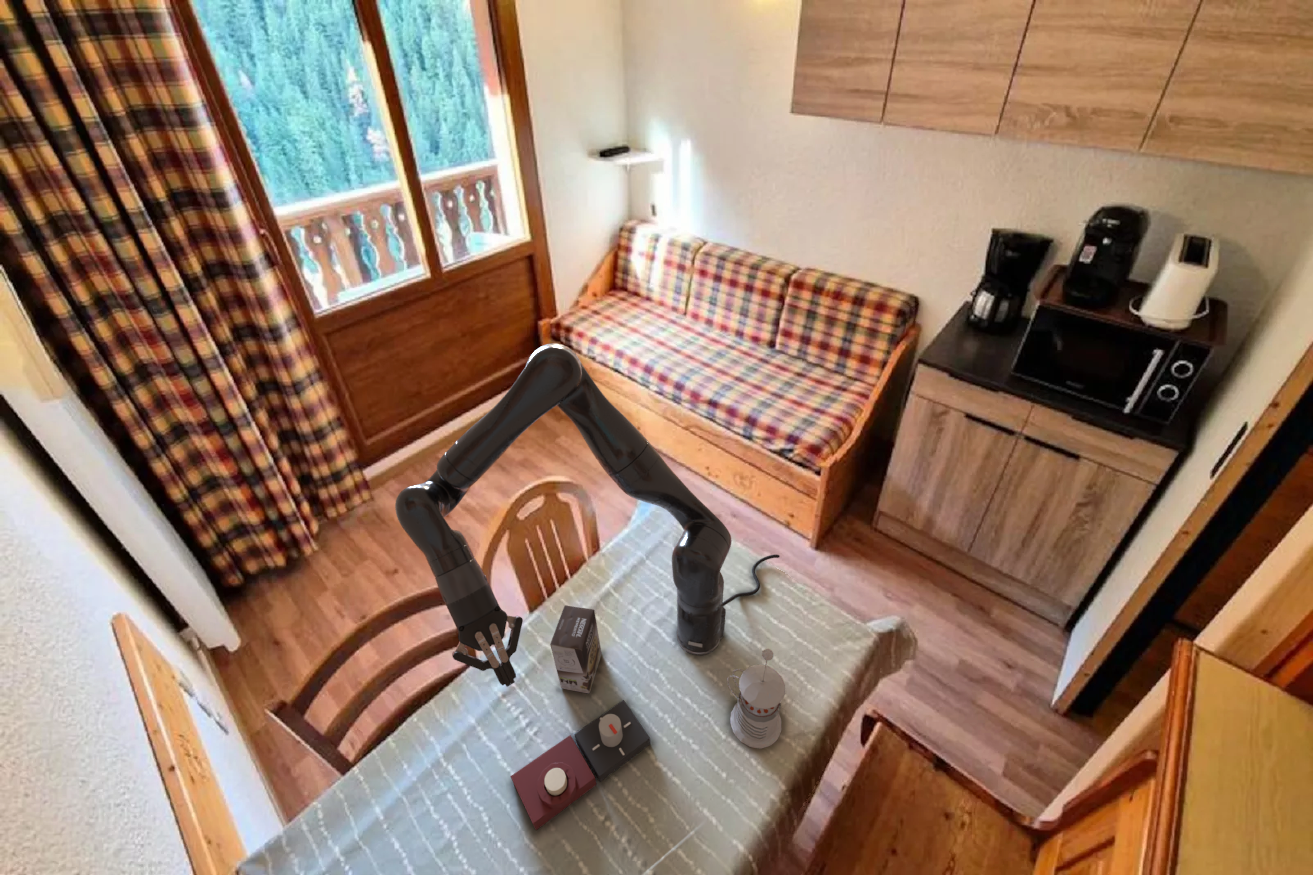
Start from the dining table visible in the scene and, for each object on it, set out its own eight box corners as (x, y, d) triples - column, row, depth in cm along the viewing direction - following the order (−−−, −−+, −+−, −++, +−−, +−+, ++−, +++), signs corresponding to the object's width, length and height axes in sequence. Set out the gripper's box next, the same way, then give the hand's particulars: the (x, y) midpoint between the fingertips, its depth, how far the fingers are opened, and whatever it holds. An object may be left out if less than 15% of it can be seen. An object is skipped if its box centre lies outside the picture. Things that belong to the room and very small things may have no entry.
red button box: (572, 742, 108) (569, 730, 105) (599, 788, 102) (596, 777, 98) (513, 783, 103) (508, 772, 99) (537, 834, 96) (533, 824, 93)
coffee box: (590, 694, 115) (581, 651, 105) (560, 688, 116) (548, 645, 106) (603, 653, 122) (595, 608, 111) (574, 648, 123) (564, 603, 113)
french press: (762, 760, 104) (776, 693, 89) (712, 717, 111) (717, 647, 95) (791, 719, 110) (810, 649, 94) (742, 680, 116) (751, 608, 100)
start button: (561, 768, 100) (559, 763, 99) (571, 786, 98) (569, 781, 96) (542, 781, 99) (540, 776, 97) (552, 800, 96) (550, 795, 95)
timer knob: (596, 734, 106) (594, 722, 103) (614, 720, 108) (612, 708, 105) (609, 752, 104) (606, 740, 101) (626, 737, 106) (625, 726, 103)
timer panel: (624, 705, 113) (623, 699, 111) (650, 744, 107) (650, 738, 105) (575, 739, 108) (573, 733, 106) (600, 782, 102) (598, 776, 101)
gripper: (499, 572, 103) (540, 658, 103) (427, 609, 98) (470, 701, 98) (506, 573, 97) (550, 666, 96) (428, 613, 91) (475, 712, 91)
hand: (510, 683), depth 97 cm, fingers closed
